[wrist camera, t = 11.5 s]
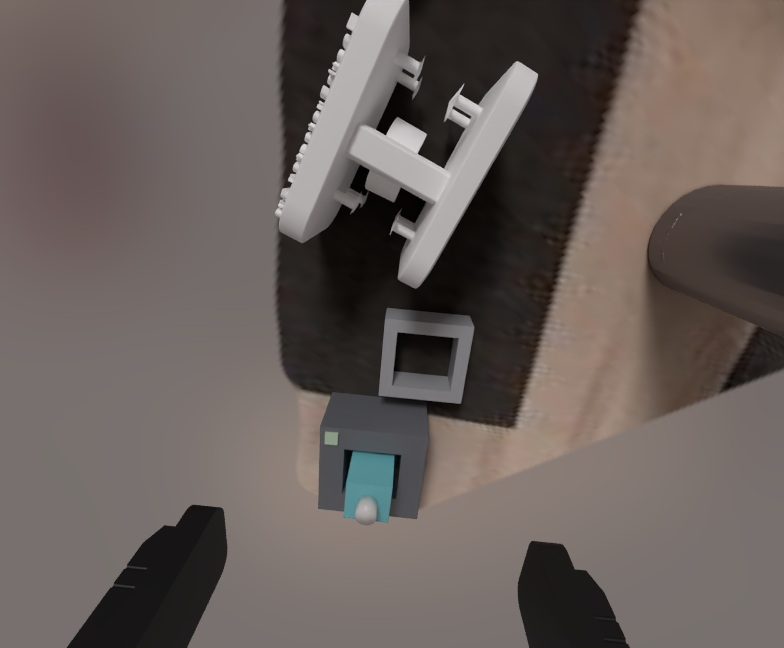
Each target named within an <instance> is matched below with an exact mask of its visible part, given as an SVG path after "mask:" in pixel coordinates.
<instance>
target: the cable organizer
mask: <svg viewBox="0 0 784 648" xmlns="http://www.w3.org/2000/svg"><path fill="white" fill-rule="evenodd" d="M346 27H347V28H348V29H349V30H351V31H353V32H352V35H351V36H350V35H349V34H346V35H345V37H344V40H343V47H344V48H345V49H346V50H345V51H344V50H342V49H340V50H339V52H338V55H337V62H338V63H337V62H336V61H335V62H334V63H333V68H332V69H333V70H334V71H336V73H335V72H333V71H331V70H330V69H329V71H328V72H329V73H330V74H331V75H330V76H329V77H328V81H327V82H328V84H329V85H330V89H329V88H327V87H326V86H324V85H323V87H322V90H321V93H320V97H321V98H323V99H324V100H325V102H324V103H323V102H321V101H319V104H318V105H317V108H318V109H320V110H321V112H319V111H316V112H315V113H314V115H313V122H315V123H316V125H315V124H313V123H310V124H309V125H308V126H309V128H308V129H309V130H310V131H312V133H311V132H308V133H307V134H306V136H305V142H307V143H308V145H306V144H303V145H302V146H301V148H300V152H301V153H303V154H304V155H302V154H300V153H299V154H298V155H296V156H297V159H296V160H298V161H300V162H301V163H300V162H296V163H295V164H294V166H293V171H294V172H296V174H290V177H289V179H288V181H290V182H292V185H291V188H284V189H282V192H281V195H280V197H282V198H283V200H280V203H279V204H278V206H279V208H278V209H277V210H276V212H275V216H277V217H279V218H280V222H279V230H280V232H282V233H284V234H286V235H287V236H289V237H291V238H293V239H295V240H297V241H299V242H301V243H304V242H306V241H307V240H309V239H310V238H312V237H314V236H315V235H317V234H318V233H320V232H321V231H323V230H325V229H326V228H328V227H329V225H330V224H331V223H332V221H333V220H334V218H335V217H336V215H337V213H338V211H339V209H340V207H341V205H342V204H344V205H346V206H347V207H349V208H351V209H352V211H351V213H352V212H354V211H355V209H356V208H357V206H358V204H359V203H360V204H361V206H363V205H364V203H365V202H366V200H367V196H368V193H367V194H366V196H364V195H362V194H360V193H358V192H356V191H354V190H353V189H351V188H350V185H351V183H352V181H353V179H354V177H355V174H356V172H357V170H358V168H359V166H360V165H362V166H364V167H365V168H367V169H369V170H370V171H369V174H368V177H367V180H366V184H365V189H367V190H369V191H371V192H373V193H375V194H377V195H379V196H381V197H384V198H386V199H388V200H390V201H392V202H394V201H395V199H396V197H397V195H398V193H399V191H400V189H401V188H403V189H405V190H407V191H408V192H410V193H412V194H414V195H416V196H417V197H419V198H421V199H423V200H424V201H426V203H425V205H424V207H423V209H422V211H421V213H420V215H419V217H418V218H417V220H416V222H415V223H413V222H411V221H409V220H407V219H406V218H404V217H402V216H400V215H399V213H400V211H401V210H400V211H399V213H398V214H397V215H396V217H395V220H394V223H393V225H392V228H391V232H392V231H394V232H396V233H398V234H400V235H402V236H404V237H405V238H407V240H406V242H405V244H404V247H403V249H402V252H401V256H400V264H399V272H398V280H399V281H401V282H403V283H405V284H407V285H409V286H411V287H413V288H418V287H419V286H420V285H421V284H422V283H423V281H424V280H425V279H426V277H427V276H428V275H429V273H430V272H431V270H432V268H433V267H434V265H435V263H436V262H437V260H438V258H439V256H440V255H441V253H442V251H443V249H444V248H445V246H446V244H447V242H448V241H449V239H450V237H451V236H452V234H453V232H454V230H455V229H456V227H457V225H458V223H459V222H460V220H461V218H462V216H463V215H464V213H465V211H466V209H467V208H468V206H469V204H470V202H471V201H472V199H473V197H474V195H475V194H476V192H477V190H478V189H479V187H480V185H481V183H482V182H483V180H484V178H485V176H486V175H487V173H488V171H489V169H490V168H491V166H492V164H493V162H494V161H495V159H496V157H497V155H498V154H499V152H500V150H501V148H502V147H503V145H504V143H505V142H506V140H507V138H508V136H509V135H510V133H511V131H512V129H513V128H514V126H515V124H516V122H517V121H518V119H519V117H520V115H521V114H522V112H523V110H524V108H525V106H526V105H527V103H528V101H529V99H530V97H531V94H532V92H533V90H534V88H535V85H536V82H537V79H538V74H537V73H536V72H534V71H532V70H531V69H529V68H528V67H526V66H525V65H523V64H521V63H520V62H518V61H517V62H515V63H514V64H513V65H512V66H511V67H510V69H509V70H508V71H507V72H506V73H505V74H504V75H503V76H502V77H501V78H500V79H499V80H498V82H497V83H496V84H495V85H494V86H493V87H492V88H491V89H490V90H489V91H488V92H487V94H486V95H485V96H484V98H483V99H482V100H481V102H480V104H479V105H476V104H475V103H473V102H471V101H470V100H468V99H466V98H465V97H463V96H461V95H460V92H461V90H462V88H463V86H464V85H463V86H462V87H461V88H460V89H459V91H458V92H457V93H456V94H455V95H454V97H453V98H452V99H451V100H450V101H449V104H448V109H447V113H446V116H445V119H444V120H445V121H446V119H447V118H448V119H450V120H452V121H454V122H455V123H457V124H459V125H460V126H462V127H464V128H465V130H464V132H463V134H462V136H461V138H460V140H459V141H458V143H457V145H456V147H455V149H454V151H453V153H452V155H451V156H450V158H449V160H448V162H447V164H446V166H445V168H444V169H443V168H441V167H440V166H438V165H436V164H434V163H433V162H431V161H429V160H427V159H426V158H424V157H422V156H420V155H419V154H418V152H419V150H420V148H421V146H422V144H423V142H424V140H425V138H426V135H427V134H426V133H424V132H423V131H421V130H419V129H417V128H416V127H414V126H412V125H411V124H409V123H407V122H405V121H404V120H402V119H400V118H399V117H397V118H396V119H395V120H394V122H393V123H392V125H391V127H390V128H389V130H388V132H387V134H386V135H384V134H382V133H380V132H379V131H377V130H376V128H377V126H378V124H379V121H380V119H381V117H382V115H383V113H384V110H385V108H386V106H387V104H388V102H389V99H390V97H391V95H392V93H393V91H394V88H395V86H396V84H397V82H399V83H401V84H402V85H404V86H406V87H407V88H409V89H411V90H412V91H414V94H413V96H412V97H413V98H414V97H415V95H416V94H417V92H418V90H419V87H420V84H421V80H422V78H421V80H420V82H418V81H416V79H417V78H418V76H419V74H420V72H421V69H422V65H423V62H424V59H423V61H422V63H421V61H420V63H419V62H418V61H416V60H414V59H413V58H411V57H409V56H408V51H409V0H366V2H365V4H364V6H363V9H362V11H361V13H360V15H359V17H358V16H357V15H355V14H353V13H352V14H351V16H350V19H349V21H348V24H347V26H346ZM424 58H425V57H424ZM403 68H404V69H406V70H407V71H409V72H411V73H412V74H414V75H415V76H414V78H411V77H410V76H408V75H406V74H405V73H403V72H402V70H403ZM422 77H423V76H422ZM464 84H465V83H464ZM412 100H413V99H412ZM453 106H455V107H457V108H459V109H460V110H462V111H464V112H465V113H467V114H469V115H470V116H472V117H471V119H468V118H467V117H465V116H463V115H462V114H460V113H458V112H457V111H455V110H453V109H452V108H453ZM369 191H368V192H369ZM361 193H362V192H361ZM361 206H360V207H361ZM359 209H360V208H359ZM351 213H350V214H351ZM391 232H390V234H391Z"/></svg>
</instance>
